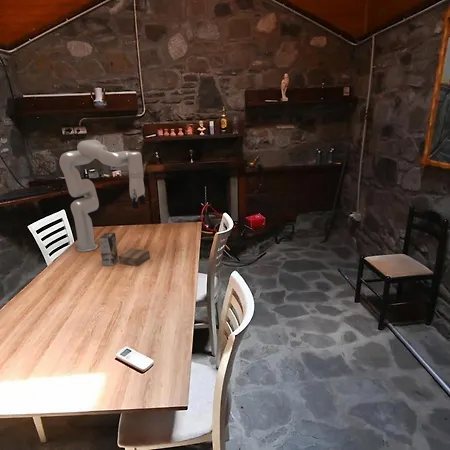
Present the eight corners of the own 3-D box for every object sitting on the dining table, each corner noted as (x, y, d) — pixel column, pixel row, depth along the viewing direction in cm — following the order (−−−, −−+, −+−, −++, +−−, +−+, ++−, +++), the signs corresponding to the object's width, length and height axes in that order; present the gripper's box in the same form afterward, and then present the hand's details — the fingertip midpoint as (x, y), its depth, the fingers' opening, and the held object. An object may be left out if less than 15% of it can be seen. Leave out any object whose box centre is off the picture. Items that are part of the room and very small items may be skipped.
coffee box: (113, 265, 193) (110, 238, 188) (102, 265, 193) (98, 238, 188) (118, 259, 202) (115, 232, 197) (107, 259, 202) (104, 232, 197)
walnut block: (119, 264, 196) (118, 256, 194) (132, 256, 206) (131, 248, 205) (137, 267, 191) (136, 258, 190) (150, 258, 202) (149, 250, 200)
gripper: (136, 172, 198) (139, 202, 203) (122, 178, 182) (126, 210, 187) (148, 172, 197) (151, 202, 202) (136, 178, 181) (139, 210, 186)
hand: (139, 206), depth 194 cm, fingers open, 9 cm apart
